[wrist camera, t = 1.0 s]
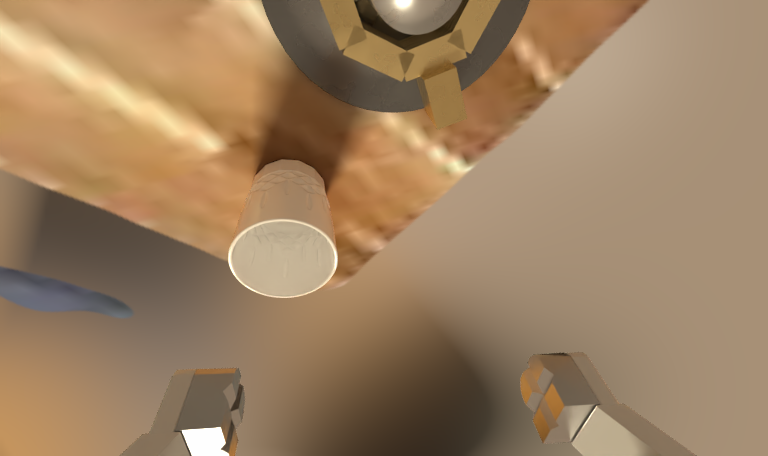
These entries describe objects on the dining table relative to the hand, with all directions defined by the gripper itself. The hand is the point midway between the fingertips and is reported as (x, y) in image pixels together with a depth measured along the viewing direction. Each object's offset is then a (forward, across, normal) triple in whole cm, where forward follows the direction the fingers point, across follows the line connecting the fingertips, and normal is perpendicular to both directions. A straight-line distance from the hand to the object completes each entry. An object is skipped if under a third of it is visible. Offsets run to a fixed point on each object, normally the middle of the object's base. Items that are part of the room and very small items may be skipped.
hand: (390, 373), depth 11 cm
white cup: (+26, +6, +8) cm, 28 cm away
